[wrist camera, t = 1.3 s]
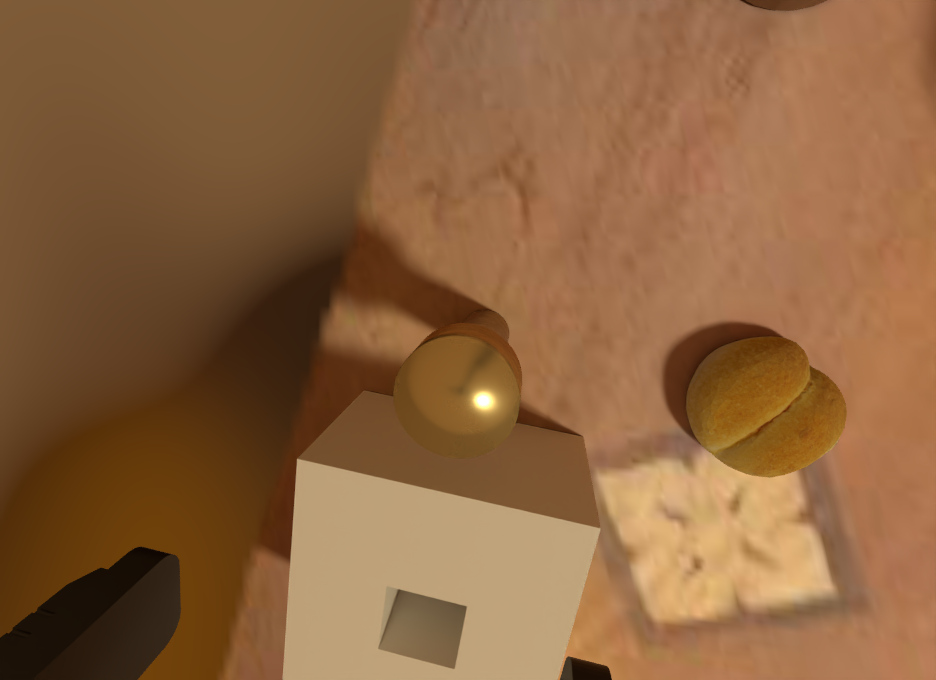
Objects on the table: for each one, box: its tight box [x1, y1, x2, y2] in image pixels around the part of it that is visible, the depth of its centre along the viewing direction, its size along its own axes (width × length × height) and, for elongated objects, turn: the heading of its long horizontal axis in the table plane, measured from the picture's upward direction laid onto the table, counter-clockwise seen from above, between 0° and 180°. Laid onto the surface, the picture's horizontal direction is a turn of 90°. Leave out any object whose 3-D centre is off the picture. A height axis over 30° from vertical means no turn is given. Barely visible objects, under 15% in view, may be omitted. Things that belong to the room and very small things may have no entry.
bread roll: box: [686, 336, 847, 477], centre depth 29 cm, size 8×9×4 cm
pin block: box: [283, 390, 601, 680], centre depth 32 cm, size 18×16×10 cm
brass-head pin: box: [393, 310, 522, 459], centre depth 27 cm, size 6×6×12 cm
